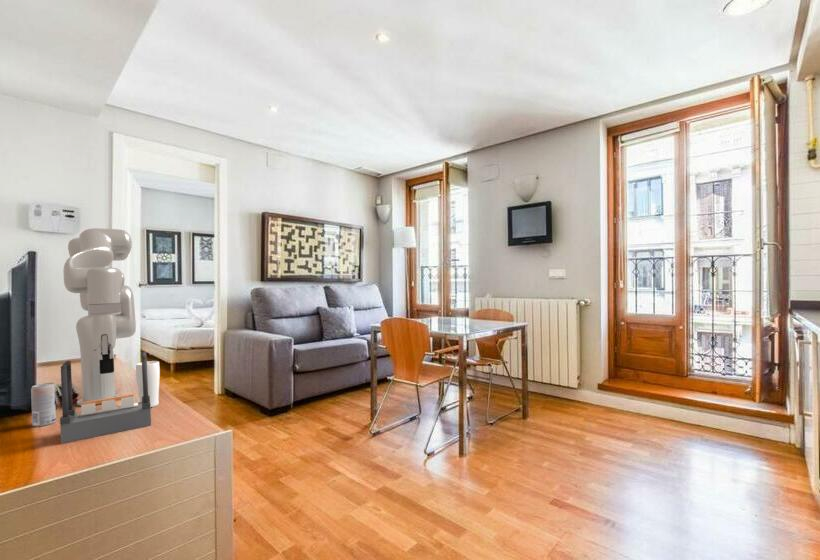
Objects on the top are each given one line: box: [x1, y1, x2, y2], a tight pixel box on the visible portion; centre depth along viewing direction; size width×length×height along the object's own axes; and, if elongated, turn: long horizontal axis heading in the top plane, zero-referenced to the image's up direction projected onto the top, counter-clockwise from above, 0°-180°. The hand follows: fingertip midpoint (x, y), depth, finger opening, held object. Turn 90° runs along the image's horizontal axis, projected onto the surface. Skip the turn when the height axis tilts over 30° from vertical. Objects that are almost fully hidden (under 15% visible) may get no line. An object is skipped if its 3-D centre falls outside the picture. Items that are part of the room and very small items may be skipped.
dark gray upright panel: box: [59, 360, 76, 425], centre depth 109 cm, size 10×2×16 cm, turn 35°
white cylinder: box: [135, 360, 161, 409], centre depth 135 cm, size 7×7×15 cm
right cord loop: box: [141, 351, 151, 410], centre depth 119 cm, size 10×2×16 cm, turn 35°
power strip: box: [59, 401, 152, 444], centre depth 114 cm, size 10×20×5 cm, turn 125°
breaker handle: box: [77, 393, 139, 417], centre depth 114 cm, size 2×14×4 cm, turn 124°
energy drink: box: [30, 382, 57, 428], centre depth 121 cm, size 5×5×12 cm
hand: (107, 372), depth 115 cm, fingers closed
